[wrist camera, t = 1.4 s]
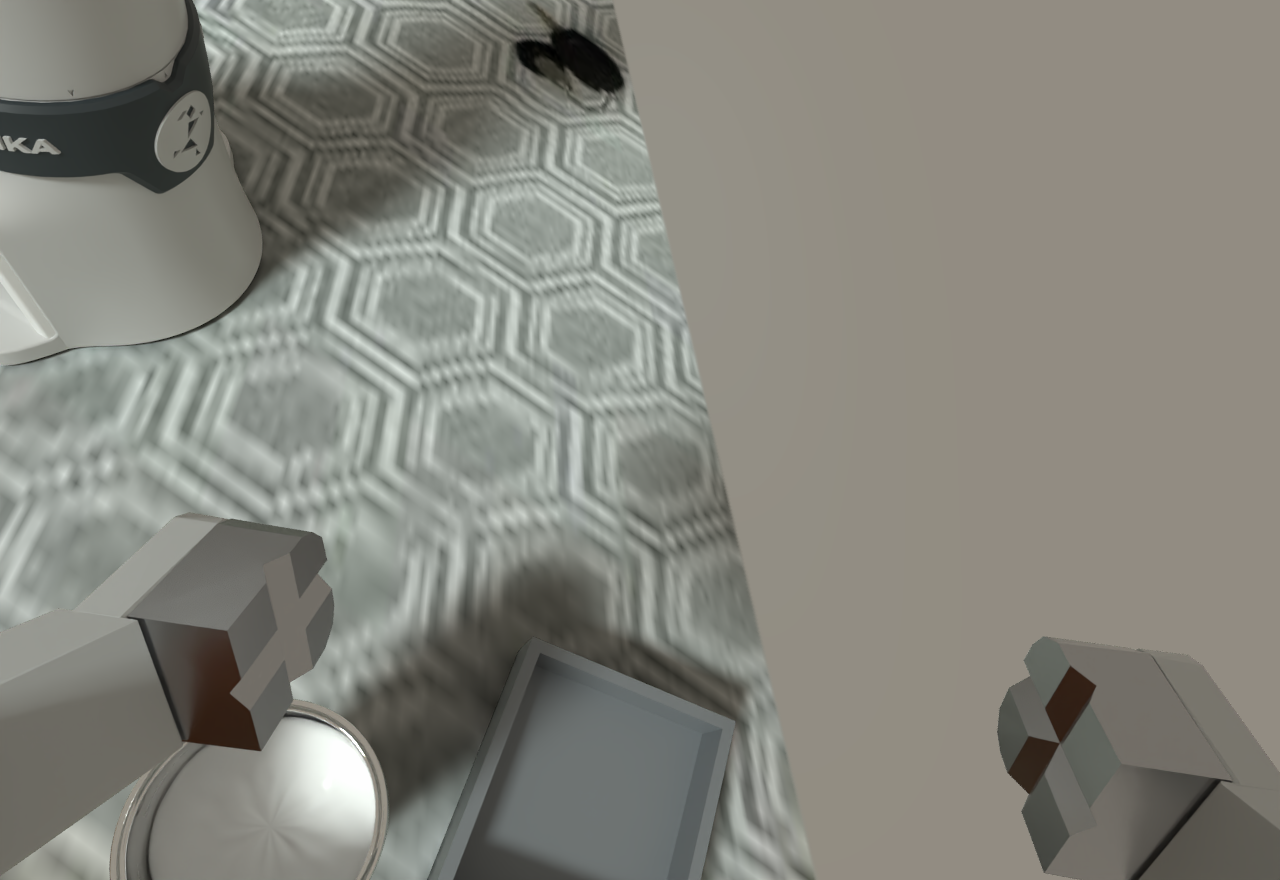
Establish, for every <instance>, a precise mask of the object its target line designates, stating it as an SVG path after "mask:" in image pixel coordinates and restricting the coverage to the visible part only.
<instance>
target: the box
mask: <svg viewBox="0 0 1280 880" xmlns="http://www.w3.org/2000/svg"><path fill="white" fill-rule="evenodd" d="M735 723H736V721H734V720H731V719H729V718H727V717H724V716H722V715H720V714H717V713H715V712H712V711H710V710H708V709H705V708H703V707H700V706H698V705H696V704H693V703H691V702H689V701H686V700H684V699H681V698H679V697H677V696H674V695H672V694H669V693H667V692H665V691H662V690H660V689H658V688H655V687H653V686H650V685H648V684H646V683H643V682H641V681H638V680H636V679H634V678H631V677H629V676H627V675H624V674H622V673H619V672H617V671H615V670H612V669H610V668H608V667H605V666H603V665H600V664H598V663H596V662H593V661H591V660H588V659H586V658H584V657H581V656H579V655H577V654H574V653H572V652H569V651H567V650H565V649H562V648H560V647H557V646H555V645H553V644H550V643H548V642H546V641H543V640H541V639H538V638H536V637H534V636H533V637H532V638H531V639H530V640H529V641H528V642H527V643H526V644H525V645H524V646H523V647H522V648H521V649H520V650H519V651H518V654H517V656H516V659H515V661H514V664H513V666H512V669H511V671H510V674H509V676H508V679H507V681H506V684H505V686H504V689H503V691H502V694H501V696H500V699H499V701H498V704H497V706H496V709H495V711H494V714H493V716H492V719H491V721H490V724H489V726H488V729H487V731H486V734H485V737H484V739H483V742H482V744H481V747H480V749H479V752H478V754H477V757H476V759H475V762H474V764H473V767H472V769H471V772H470V774H469V777H468V779H467V782H466V784H465V787H464V789H463V792H462V794H461V797H460V799H459V802H458V804H457V807H456V809H455V812H454V814H453V817H452V819H451V822H450V824H449V827H448V829H447V832H446V834H445V837H444V839H443V842H442V844H441V847H440V849H439V852H438V854H437V857H436V859H435V862H434V864H433V867H432V869H431V872H430V874H429V877H428V879H427V880H701V876H702V872H703V867H704V863H705V858H706V854H707V849H708V845H709V840H710V836H711V831H712V827H713V822H714V817H715V813H716V808H717V804H718V799H719V795H720V790H721V786H722V781H723V777H724V772H725V768H726V763H727V759H728V754H729V750H730V745H731V741H732V736H733V732H734V727H735Z"/></svg>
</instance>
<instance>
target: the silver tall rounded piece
mask: <svg viewBox="0 0 1280 880" xmlns="http://www.w3.org/2000/svg"><path fill="white" fill-rule="evenodd" d="M388 823H389V793H388V787H387V782H386V778H385V774H384V771H383V768H382V766H381V764H380V761H379V759H378V757H377V755H376V753H375V752H374V750H373V748H372V747H371V745H370V744H369V742H368V741H367V739H366V738H365V737H364V736H363V734H362V733H361V732H360V731H359V730H358V729H357V728H356V727H355V726H354V725H353V724H352V723H350V722H349V721H348V720H347V719H345V718H344V717H342V716H341V715H339V714H338V713H336V712H334V711H332V710H330V709H328V708H326V707H324V706H321V705H318V704H315V703H312V702H308V701H303V700H298V699H293V702H292V703H291V705H290V706H289V708H288V710H287V711H286V713H285V714H284V716H283V718H282V719H281V721H280V722H279V724H278V726H277V727H276V729H275V730H274V732H273V734H272V735H271V737H270V738H269V740H268V741H267V743H266V745H265V746H264V748H263V749H262V751H253V750H245V749H237V748H229V747H221V746H213V745H205V744H197V743H190V742H183V747H182V748H180V749H179V750H177V751H176V752H175V753H173V754H172V755H170V756H169V757H168V758H166V759H165V760H163V761H162V762H161V763H159V764H158V765H156V766H155V767H153V768H152V769H151V770H149V771H148V772H146V773H145V774H144V775H142V776H141V777H140V778H139V779H138V781H137V782H136V784H135V786H134V787H133V789H132V791H131V793H130V794H129V796H128V798H127V800H126V802H125V804H124V807H123V809H122V811H121V814H120V816H119V819H118V822H117V825H116V828H115V832H114V836H113V840H112V846H111V853H110V867H109V870H110V880H370V879H371V877H372V875H373V873H374V871H375V869H376V867H377V864H378V862H379V859H380V856H381V854H382V851H383V847H384V844H385V840H386V835H387V830H388Z"/></svg>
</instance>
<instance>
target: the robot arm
mask: <svg viewBox="0 0 1280 880" xmlns="http://www.w3.org/2000/svg"><path fill="white" fill-rule="evenodd" d="M203 38H204V36H203V31H202V26H201V24H200V22H199V18H198V14H197V10H196V7H195V5H194V3H193V1H192V0H0V365H15V364H20V363H25V362H29V361H32V360H36V359H39V358H42V357H46V356H49V355H52V354H55V353H58V352H61V351H63V350H66V349H70V348H77V347H88V346H117V345H131V344H139V343H145V342H151V341H156V340H160V339H164V338H168V337H172V336H175V335H178V334H181V333H184V332H186V331H189V330H191V329H194V328H196V327H198V326H200V325H202V324H204V323H206V322H208V321H210V320H211V319H213V318H215V317H216V316H218V315H219V314H221V313H222V312H223V311H225V310H226V309H227V308H228V307H230V306H231V305H232V304H233V303H234V302H235V301H236V300H237V299H238V298H239V297H240V296H241V295H242V294H243V293H244V291H245V290H246V289H247V288H248V286H249V285H250V283H251V281H252V280H253V278H254V276H255V274H256V272H257V269H258V267H259V264H260V260H261V255H262V246H263V244H262V232H261V227H260V224H259V221H258V218H257V215H256V213H255V211H254V209H253V207H252V205H251V204H250V202H249V200H248V198H247V196H246V194H245V192H244V190H243V188H242V186H241V184H240V182H239V179H238V177H237V174H236V172H235V169H234V160H233V154H232V151H231V148H230V144H229V141H228V139H227V137H226V135H225V134H224V133H223V132H222V131H220V129H219V126H218V123H217V120H216V117H215V114H214V102H213V86H212V79H211V73H210V68H209V63H208V57H207V52H206V48H205V44H204V39H203ZM326 561H327V558H326V553H325V549H324V544H323V540H322V537H320V536H318V535H317V534H315V533H313V532H308V531H302V530H296V529H290V528H284V527H278V526H272V525H266V524H260V523H254V522H248V521H242V520H236V519H224V518H218V517H213V516H207V515H201V514H195V513H190V512H189V513H186V514H183V515H179V516H176V517H174V518H173V519H172V520H170V521H169V522H168V523H167V524H166V525H165V526H164V527H163V528H162V529H161V530H160V531H159V532H157V533H156V534H155V535H154V536H153V537H152V538H151V539H150V540H149V541H148V542H147V543H146V544H144V545H143V546H142V547H141V548H140V549H139V550H138V551H137V552H136V553H135V554H134V555H133V556H131V557H130V558H129V559H128V560H127V561H126V562H125V563H124V564H123V565H122V566H121V567H120V568H118V569H117V570H116V571H115V572H114V573H113V574H112V575H111V576H110V577H109V578H108V579H107V580H105V581H104V582H103V583H102V584H101V585H100V586H99V587H98V588H97V589H96V590H95V591H94V592H92V593H91V594H90V595H89V596H88V597H87V598H86V599H85V600H84V601H83V602H82V603H81V604H79V605H78V606H77V607H76V608H75V609H74V610H67V609H59V608H58V609H56V610H54V611H51V612H49V613H46V614H44V615H41V616H39V617H37V618H34V619H32V620H29V621H27V622H24V623H22V624H20V625H17V626H15V627H12V628H10V629H7V630H5V631H3V632H0V876H1V875H2V874H4V873H5V872H7V871H8V870H9V869H11V868H12V867H14V866H15V865H17V864H18V863H19V862H21V861H22V860H24V859H25V858H26V857H28V856H29V855H31V854H32V853H33V852H35V851H36V850H38V849H39V848H41V847H42V846H43V845H45V844H46V843H48V842H49V841H50V840H52V839H53V838H55V837H56V836H57V835H59V834H60V833H62V832H63V831H65V830H66V829H67V828H69V827H70V826H72V825H73V824H74V823H76V822H77V821H79V820H80V819H81V818H83V817H84V816H86V815H87V814H89V813H90V812H91V811H93V810H94V809H96V808H97V807H98V806H100V805H101V804H103V803H104V802H105V801H107V800H108V799H110V798H111V797H113V796H114V795H115V794H117V793H118V792H120V791H121V790H122V789H124V788H125V787H127V786H128V785H129V784H131V783H132V782H134V781H135V780H137V779H138V778H139V777H141V776H142V775H144V774H145V773H146V772H148V771H149V770H151V769H152V768H153V767H155V766H156V765H158V764H159V763H161V762H162V761H163V760H165V759H166V758H168V757H169V756H170V755H172V754H173V753H175V752H176V751H177V750H179V749H180V748H182V747H183V742H190V743H197V744H205V745H213V746H221V747H229V748H237V749H245V750H253V751H262V749H263V748H264V746H265V745H266V743H267V741H268V740H269V738H270V737H271V735H272V734H273V732H274V730H275V729H276V727H277V726H278V724H279V722H280V721H281V719H282V718H283V716H284V714H285V713H286V711H287V710H288V708H289V706H290V705H291V703H292V702H293V697H292V691H291V686H290V682H291V681H293V680H295V679H296V678H298V677H300V676H301V675H303V674H305V673H307V672H308V671H310V670H312V669H313V668H314V666H315V664H316V663H317V661H318V659H319V658H320V656H321V654H322V653H323V651H324V649H325V647H326V644H327V641H328V638H329V635H330V631H331V628H332V625H333V616H334V600H333V593H332V589H331V588H330V586H329V585H328V584H327V583H326V582H325V581H324V580H323V579H322V578H321V577H320V576H319V575H318V574H317V573H318V572H319V571H320V569H321V568H322V566H323V565H324V563H325V562H326ZM1024 662H1025V664H1026V667H1027V669H1028V671H1029V674H1030V677H1028V678H1026V679H1024V680H1023V681H1021V682H1019V683H1017V684H1015V685H1013V686H1012V687H1010V688H1009V689H1008V692H1007V694H1006V696H1005V698H1004V700H1003V702H1002V705H1001V707H1000V710H999V721H998V731H997V733H998V740H999V746H1000V752H1001V755H1002V758H1003V761H1004V764H1005V767H1006V770H1007V773H1008V774H1009V775H1010V776H1011V777H1012V778H1013V779H1014V780H1015V781H1016V782H1017V783H1018V784H1019V785H1020V786H1021V787H1022V788H1023V789H1024V790H1025V791H1026V792H1027V793H1028V794H1029V795H1028V797H1027V800H1026V802H1025V804H1024V807H1023V809H1022V814H1023V817H1024V820H1025V822H1026V825H1027V828H1028V830H1029V833H1030V836H1031V839H1032V841H1033V844H1034V847H1035V849H1036V852H1037V855H1038V857H1039V860H1040V863H1041V866H1042V869H1043V871H1044V873H1046V874H1052V875H1057V876H1062V877H1068V878H1074V879H1079V880H1280V772H1279V771H1278V770H1277V768H1276V767H1275V765H1274V764H1273V763H1272V761H1271V760H1270V758H1269V757H1268V756H1267V754H1266V753H1265V751H1264V750H1263V749H1262V747H1261V746H1260V745H1259V743H1258V742H1257V740H1256V739H1255V738H1254V736H1253V735H1252V733H1251V732H1250V731H1249V729H1248V728H1247V726H1246V725H1245V724H1244V722H1243V721H1242V720H1241V718H1240V717H1239V715H1238V714H1237V713H1236V711H1235V710H1234V708H1233V707H1232V706H1231V704H1230V703H1229V701H1228V700H1227V699H1226V697H1225V696H1224V695H1223V693H1222V692H1221V690H1220V689H1219V688H1218V686H1217V685H1216V683H1215V682H1214V681H1213V679H1212V678H1211V676H1210V675H1209V674H1208V672H1207V671H1206V670H1205V668H1204V667H1203V666H1202V665H1201V664H1200V663H1199V662H1197V661H1196V660H1194V659H1193V658H1191V657H1190V656H1188V655H1184V654H1176V653H1168V652H1161V651H1152V650H1145V649H1136V650H1135V649H1131V648H1125V647H1118V646H1110V645H1103V644H1095V643H1088V642H1081V641H1073V640H1066V639H1058V638H1051V637H1042V638H1041V639H1040V640H1038V641H1037V642H1036V643H1034V644H1033V645H1032V647H1031V648H1030V650H1029V652H1028V654H1027V656H1026V658H1025V659H1024Z"/></svg>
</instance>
